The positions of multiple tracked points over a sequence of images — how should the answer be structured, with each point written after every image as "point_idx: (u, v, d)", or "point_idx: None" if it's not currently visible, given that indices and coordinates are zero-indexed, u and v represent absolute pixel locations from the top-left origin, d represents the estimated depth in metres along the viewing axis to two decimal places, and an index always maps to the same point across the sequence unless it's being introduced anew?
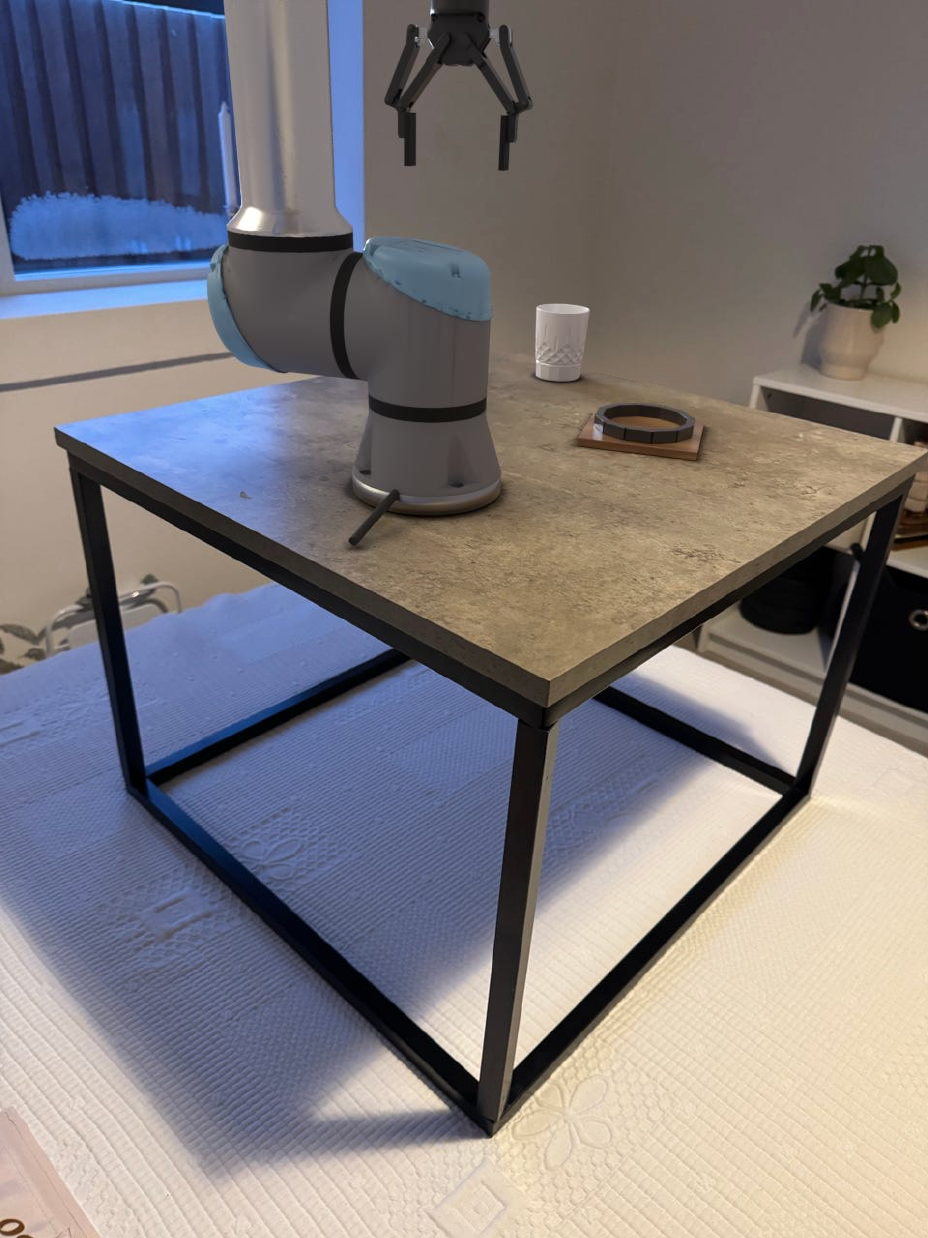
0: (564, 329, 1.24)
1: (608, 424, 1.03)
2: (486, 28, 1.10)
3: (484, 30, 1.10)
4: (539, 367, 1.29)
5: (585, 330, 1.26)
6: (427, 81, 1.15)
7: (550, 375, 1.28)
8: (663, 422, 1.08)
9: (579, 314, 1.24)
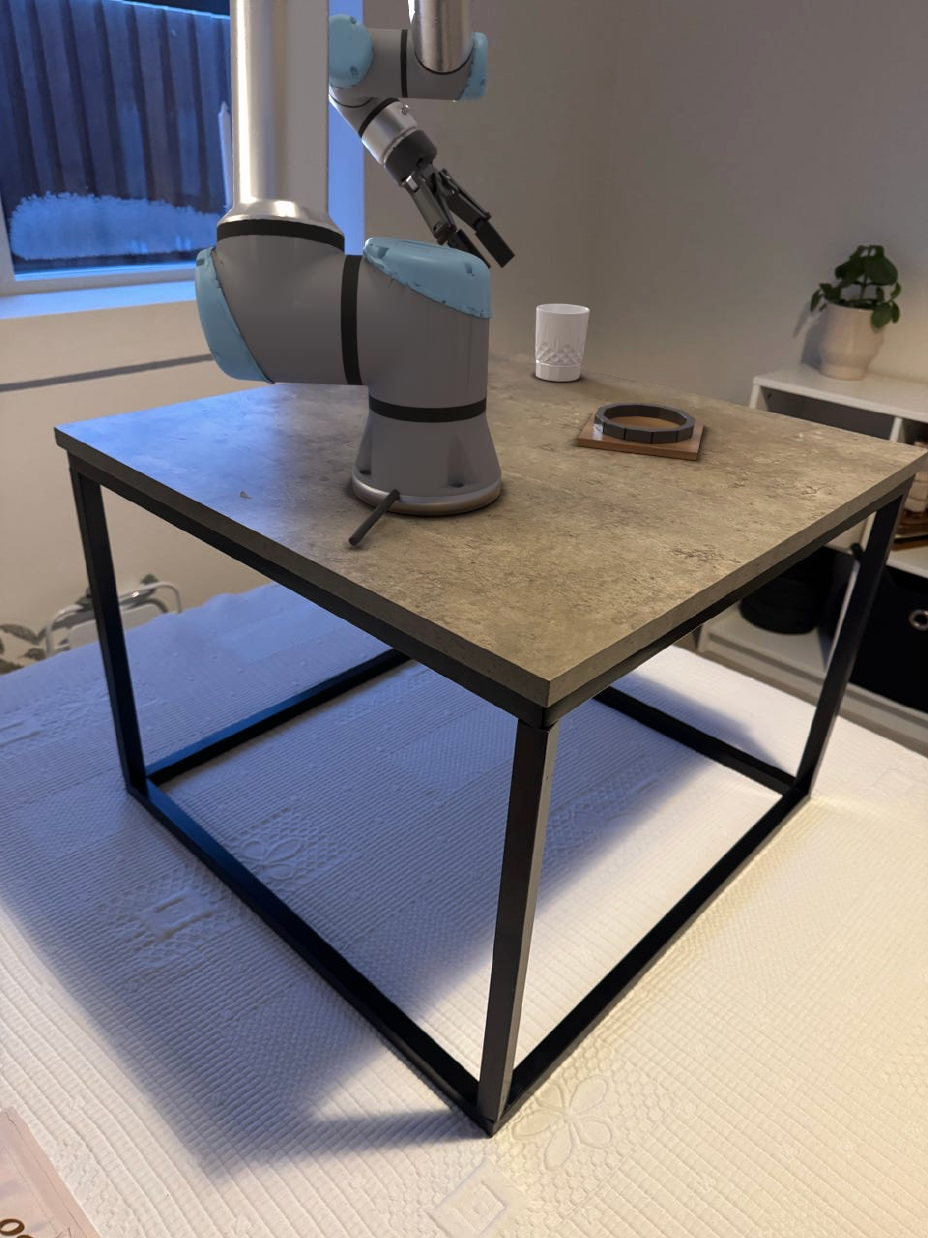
0: (564, 329, 1.24)
1: (608, 424, 1.03)
2: None
3: None
4: (539, 367, 1.29)
5: (585, 330, 1.26)
6: (462, 207, 1.28)
7: (550, 375, 1.28)
8: (663, 422, 1.08)
9: (579, 314, 1.24)
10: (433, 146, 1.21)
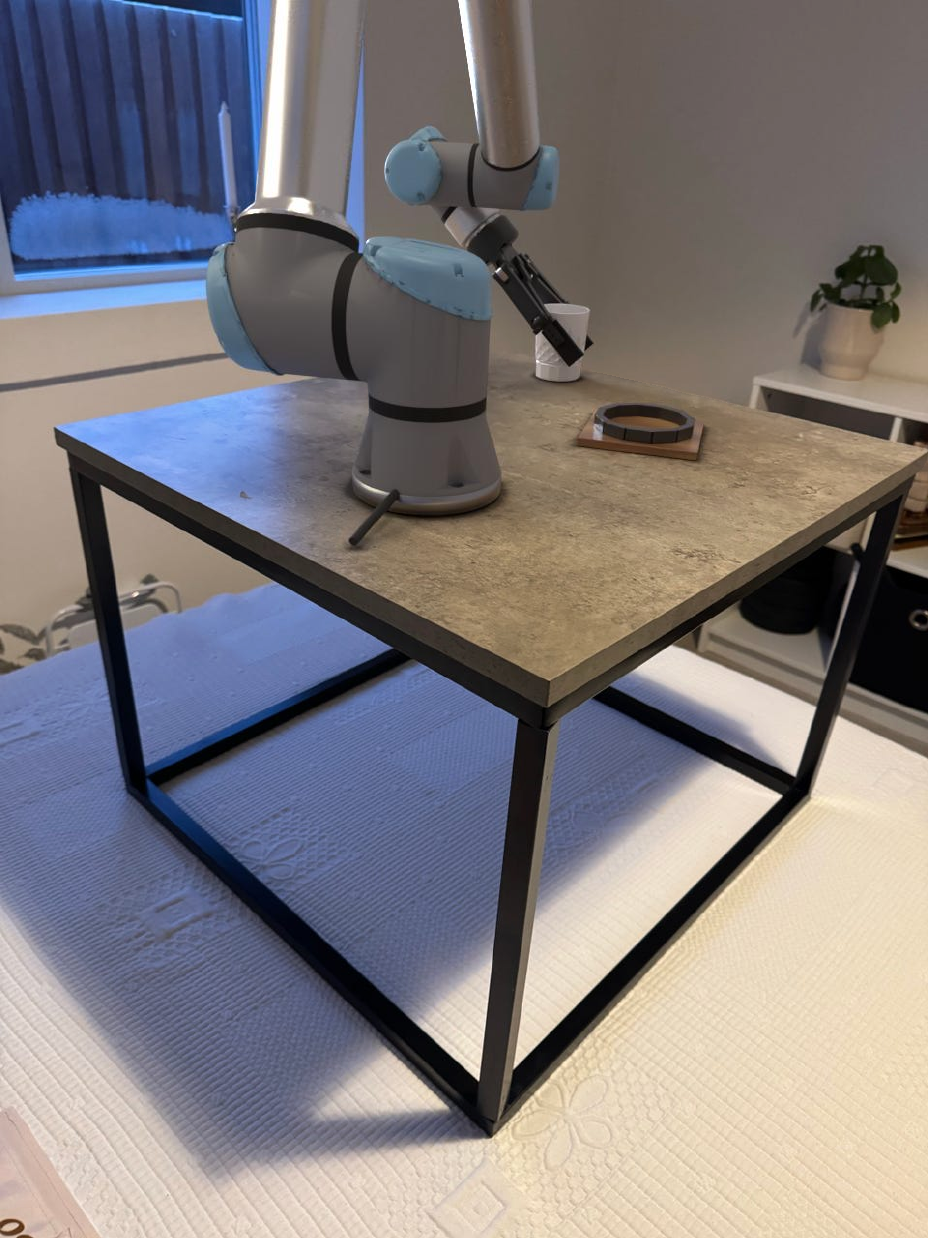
0: None
1: (608, 424, 1.03)
2: (495, 267, 1.23)
3: (495, 269, 1.23)
4: (539, 367, 1.29)
5: (585, 330, 1.26)
6: (540, 291, 1.29)
7: (550, 375, 1.28)
8: (663, 422, 1.08)
9: (579, 314, 1.24)
10: (515, 231, 1.23)
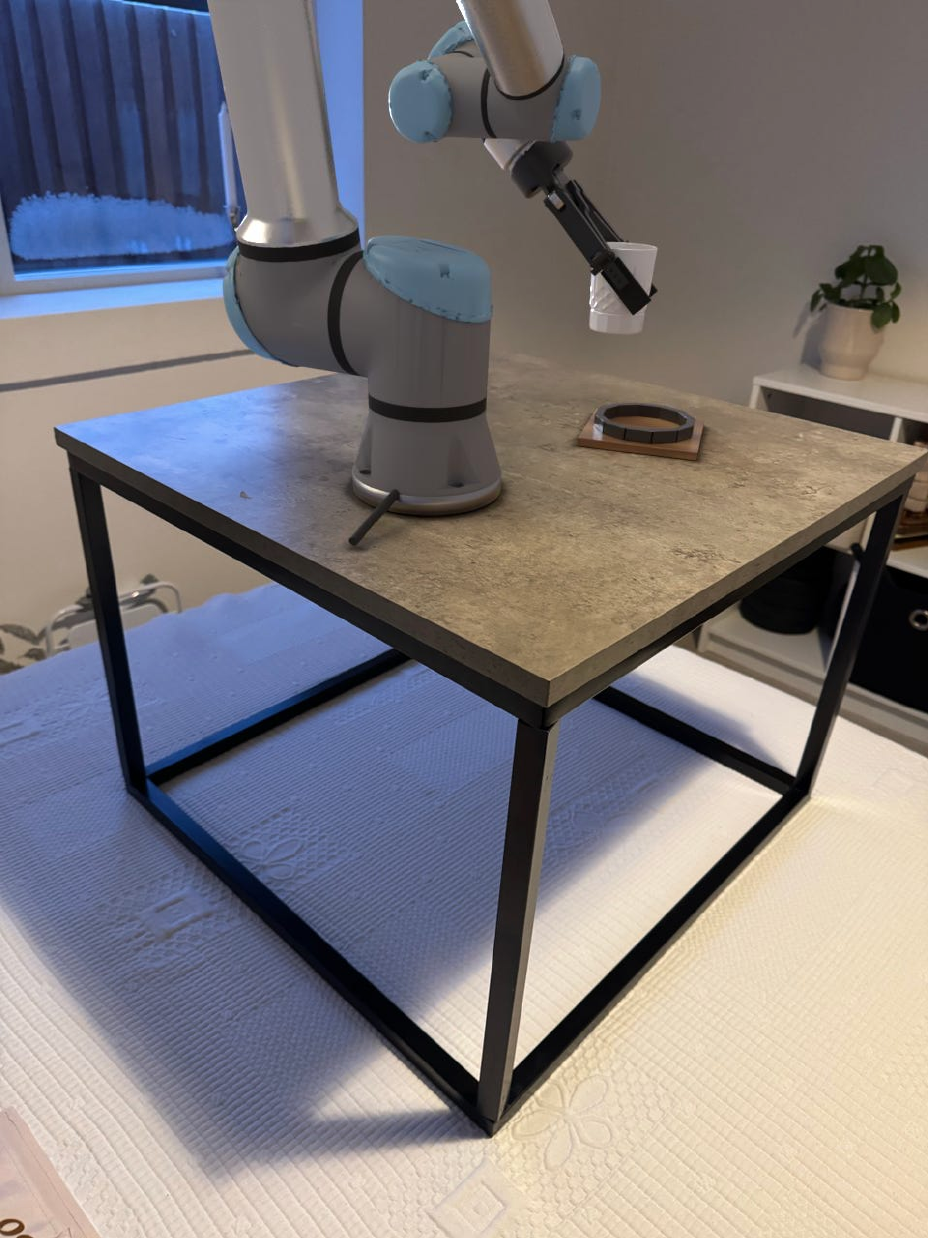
0: None
1: (608, 424, 1.03)
2: (545, 194, 1.02)
3: (546, 196, 1.02)
4: (595, 317, 1.08)
5: (652, 272, 1.05)
6: (596, 227, 1.08)
7: (609, 326, 1.07)
8: (663, 422, 1.08)
9: (647, 251, 1.03)
10: (570, 150, 1.02)
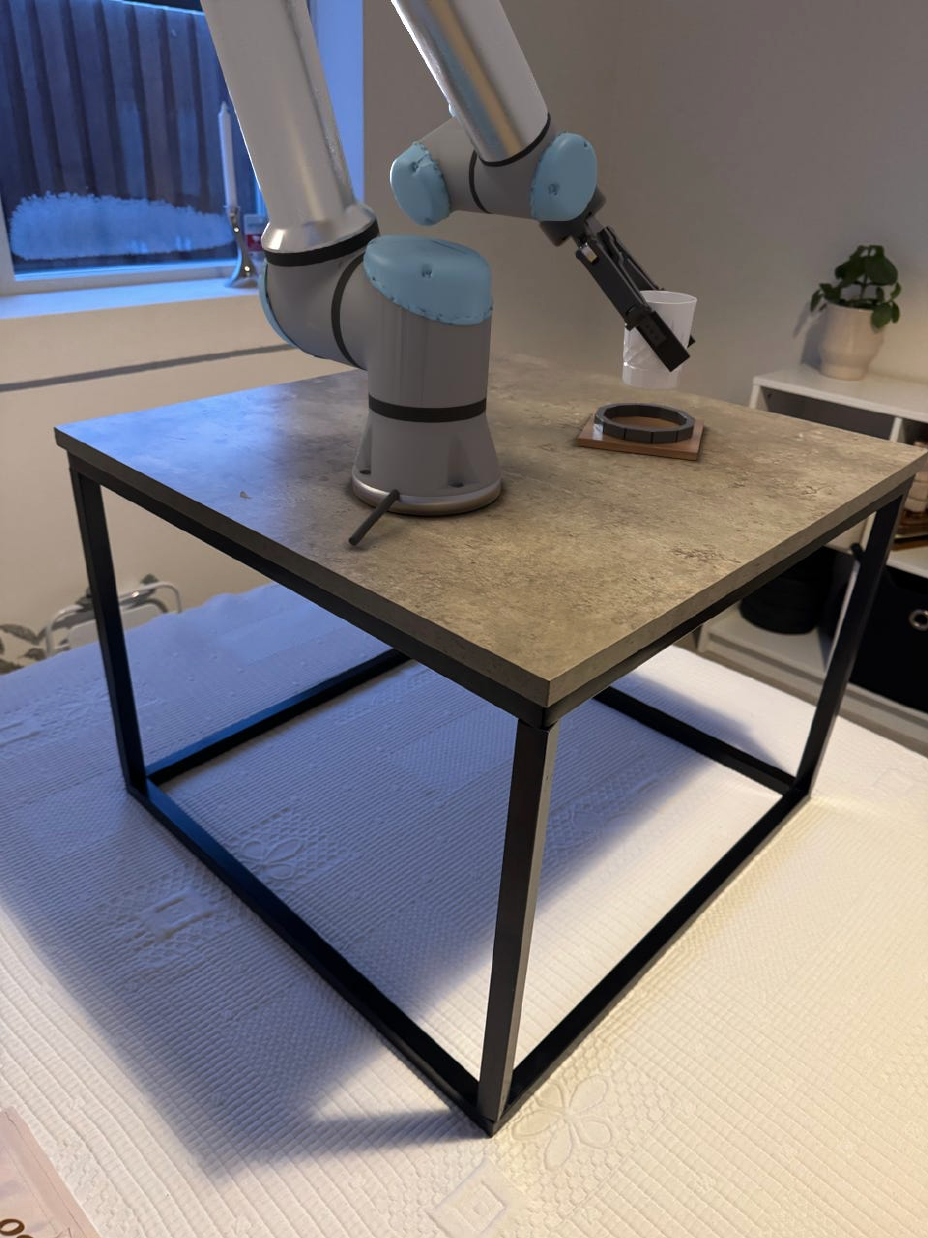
0: None
1: (608, 424, 1.03)
2: (577, 244, 0.95)
3: (577, 246, 0.95)
4: (629, 372, 1.01)
5: (690, 324, 0.98)
6: (630, 275, 1.01)
7: (644, 382, 1.00)
8: (663, 422, 1.08)
9: (686, 304, 0.96)
10: (603, 196, 0.95)
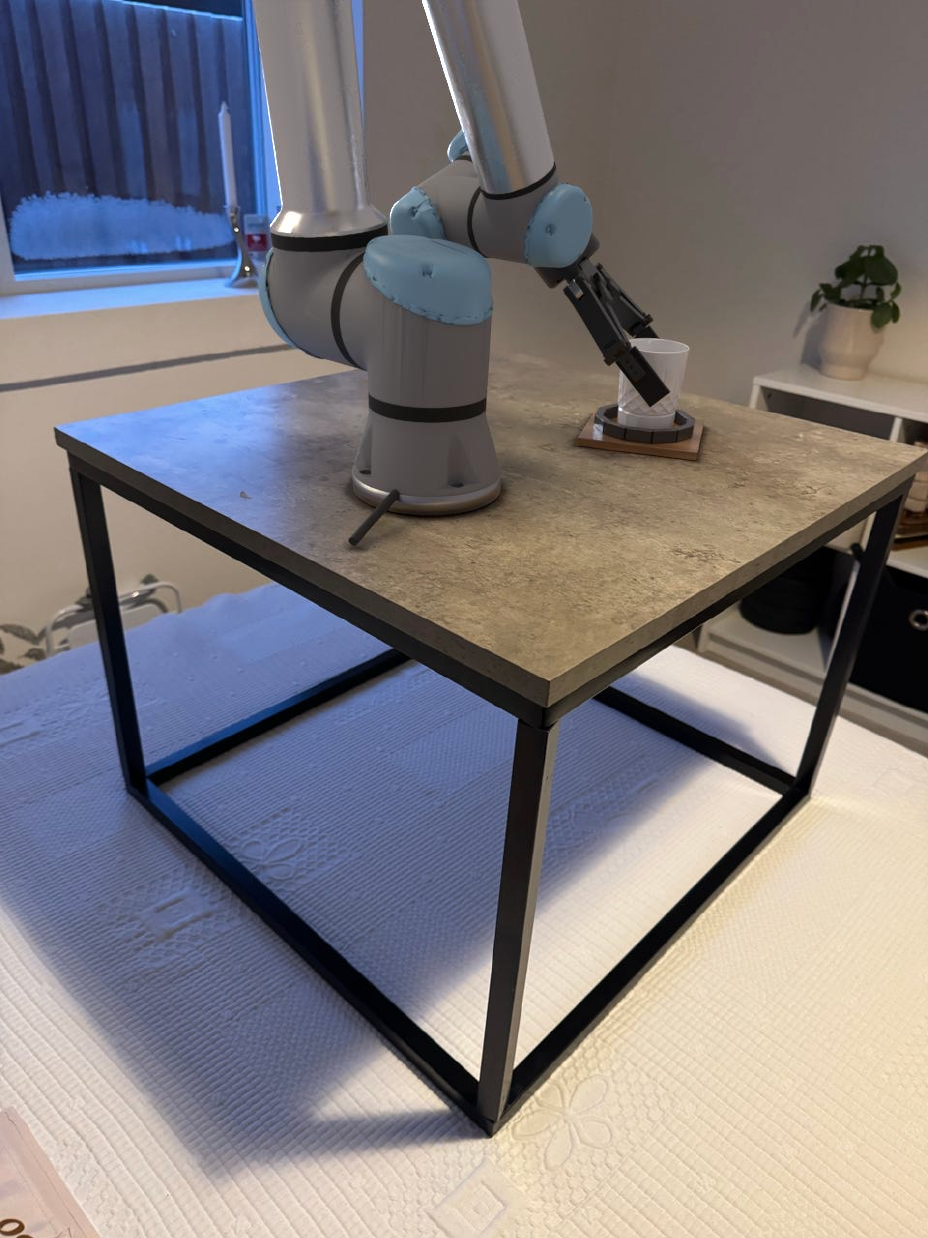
0: (658, 373, 0.99)
1: (608, 424, 1.03)
2: None
3: None
4: (624, 417, 1.04)
5: (683, 372, 1.01)
6: (621, 310, 1.05)
7: (638, 427, 1.03)
8: None
9: (678, 354, 0.99)
10: (597, 241, 0.98)
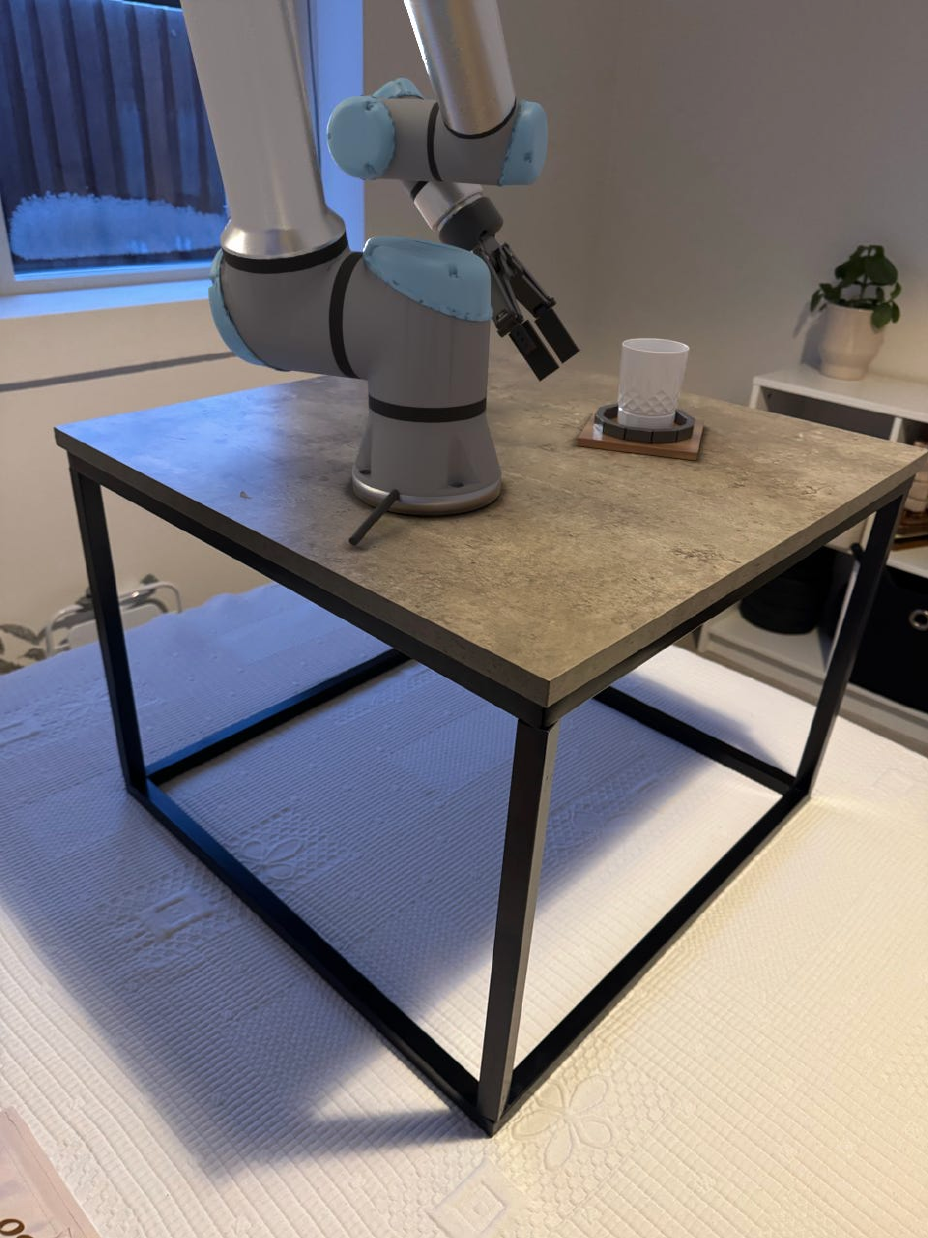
0: (659, 373, 0.99)
1: (608, 424, 1.03)
2: None
3: None
4: (624, 417, 1.04)
5: (683, 372, 1.01)
6: (524, 290, 1.07)
7: (638, 427, 1.03)
8: None
9: (678, 353, 0.99)
10: (500, 217, 1.00)
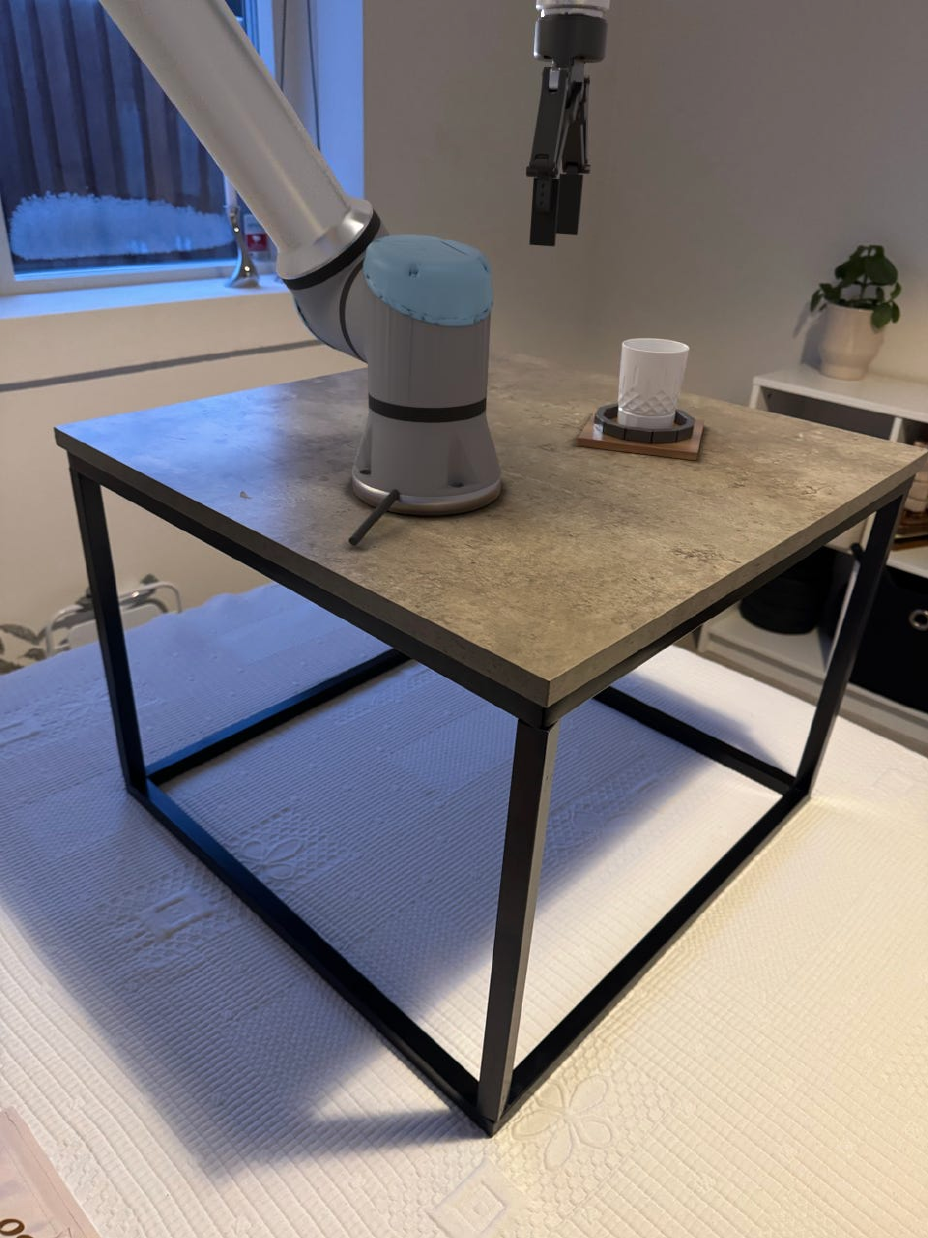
0: (658, 373, 0.99)
1: (608, 424, 1.03)
2: None
3: None
4: (624, 417, 1.04)
5: (683, 372, 1.01)
6: (572, 138, 0.98)
7: (638, 427, 1.03)
8: None
9: (678, 353, 0.99)
10: (603, 54, 0.89)
